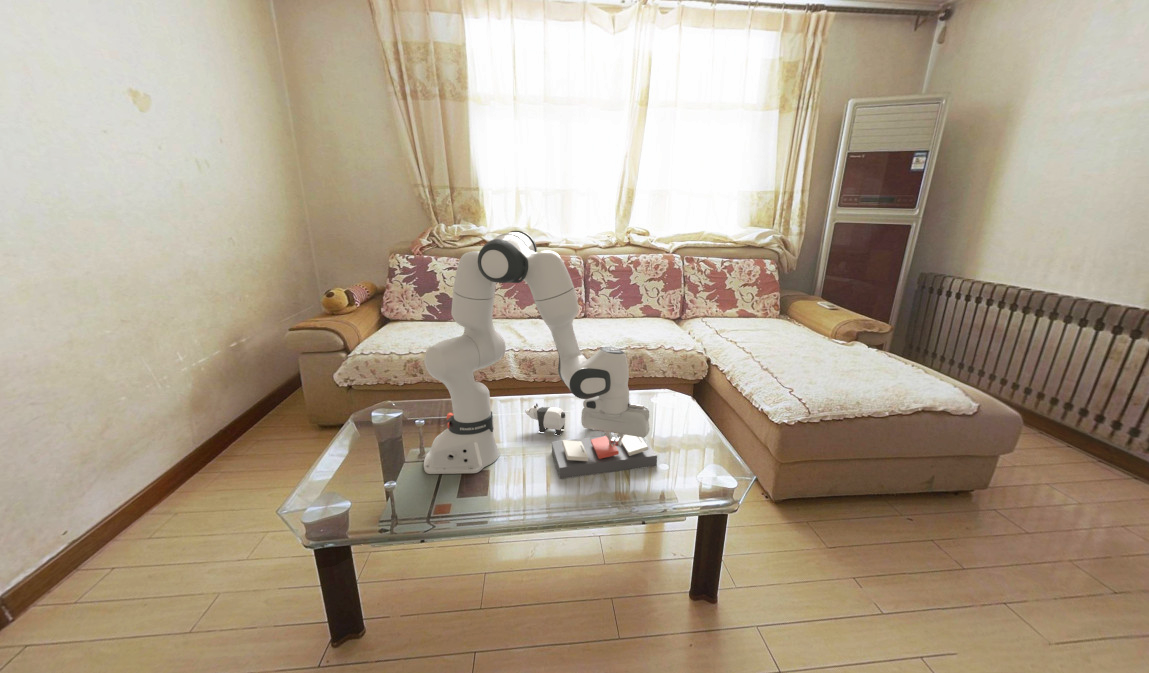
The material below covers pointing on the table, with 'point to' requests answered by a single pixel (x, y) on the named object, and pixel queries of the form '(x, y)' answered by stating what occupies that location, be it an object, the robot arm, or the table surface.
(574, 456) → the rocker left
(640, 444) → the rocker right
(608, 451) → the rocker middle
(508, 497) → the table surface
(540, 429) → the giant panda
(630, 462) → the rocker switch panel
